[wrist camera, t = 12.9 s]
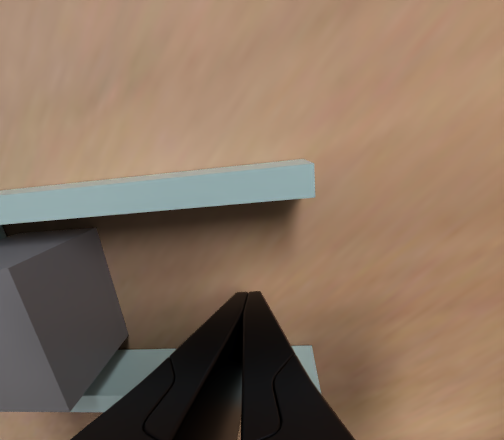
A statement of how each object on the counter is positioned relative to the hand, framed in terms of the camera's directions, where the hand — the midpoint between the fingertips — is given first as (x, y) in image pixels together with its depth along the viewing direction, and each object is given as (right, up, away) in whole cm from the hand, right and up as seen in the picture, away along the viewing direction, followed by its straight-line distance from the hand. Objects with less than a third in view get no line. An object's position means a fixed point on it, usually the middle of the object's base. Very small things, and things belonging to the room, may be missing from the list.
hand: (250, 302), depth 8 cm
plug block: (-9, 0, +4) cm, 10 cm away
